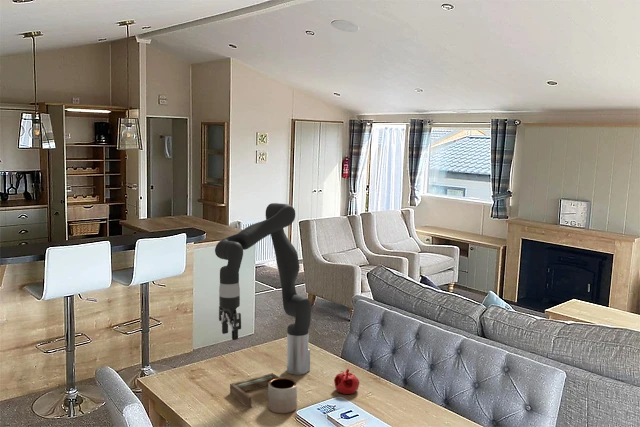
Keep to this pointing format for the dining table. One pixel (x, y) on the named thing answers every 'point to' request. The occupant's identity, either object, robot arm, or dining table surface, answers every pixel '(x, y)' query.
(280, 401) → the planter
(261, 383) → the bay
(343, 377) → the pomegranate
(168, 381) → the dining table surface
